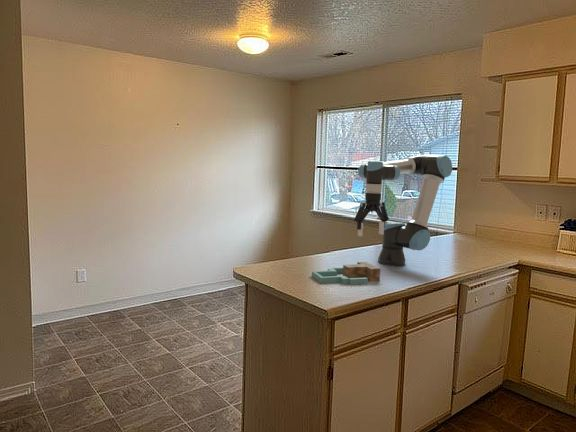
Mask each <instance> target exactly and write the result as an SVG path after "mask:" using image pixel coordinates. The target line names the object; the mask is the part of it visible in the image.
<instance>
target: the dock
mask: <svg viewBox="0 0 576 432" xmlns="http://www.w3.org/2000/svg"><path fill="white" fill-rule="evenodd" d="M338 274H343V266H342V267H331V268H327V270H312V271H311V277H312V278H313V279H314V280H316V281H317V282H319V283H320V284H326V283H330V284H331V283H341V284H343V285H347V284H348V285H366V284H368V281H369V280H368V278H348V277H346V276H343V275H338Z"/></svg>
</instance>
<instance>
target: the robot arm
mask: <svg viewBox="0 0 576 432" xmlns="http://www.w3.org/2000/svg"><path fill="white" fill-rule="evenodd" d="M452 173H453V163H452V161H451V158H450V157H449V156H447V155H445V154H444V155H443V154H420V155H416V156H411V157H406V158H404V159H403V160H402V159H401V160H392V161H385V162H384V161H382V160H368V161H367V163H363V164H361V165H360V166H359V167H358V176H359V177H360V178H362V179H365V180H366V181H365V196H364V197H365V198H364V200H365V202H363V201H362V202H360V203H359V208H358V210H357V212H356V215H355V217H354V219H353V221H354V222H356V225H357V226H356V229H357V236H358V237H363V233H364V232H363V231H364V230H363V229H364V223H363V221H364V220H365V219H366V217H367V216H368V214H369V213H371V212H375V213H376V215H377V217H378V218H379V220H380V221H379V224H378V234H379V235H382V243H381V247H382V248H381V251H380V253H379V255H378V257H377V258H378V259H377V262H378V263H380V264H382V265H386V266H404V265H406V258H405V253H404V248H406V249H409V250H413V251H423V250H424V249H426V248H427V247H428V246H429V243H430V241H431V233H430V231H429V227H428V221H429V218H430V216H431V212H432V211H433V206H434V203H435V200H436V198H437V195H438V191H439V187H440V184H442V183H444V182H445V179H446V178H448V177H450V176H451V174H452ZM403 174H405V175H418V176H421V177H422V179H423V182H422V185H421V189H420V192H419V193H418V197H417V200H416V203H415V207H414V210H413V213H412V215H411V219H410V220H409V221H407V222H406V223H405V222H388V221H389V219H390V218H389V216H388V212H387V209H386V203H385V201H381V199H382V194H381V193H382V186H383V185H382V184H383V181H396V180H398V179H399V178H400V176H401V175H403ZM386 222H387V223H386Z"/></svg>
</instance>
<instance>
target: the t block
mask: <svg viewBox="0 0 576 432" xmlns="http://www.w3.org/2000/svg"><path fill="white" fill-rule="evenodd" d="M342 267H343V273H342V276H346V277H348V278H368V281H369V282H378V281H380V279H381V268H380V267H378V266H376V265H374V264H372V263H370V262H368V261H357V264H343V266H342Z"/></svg>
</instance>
